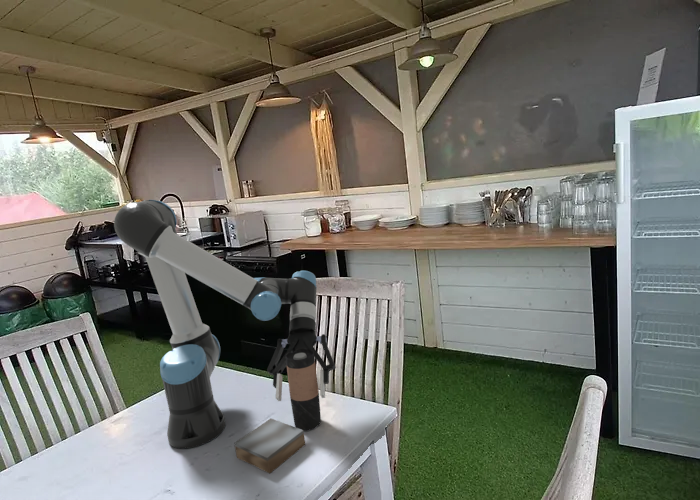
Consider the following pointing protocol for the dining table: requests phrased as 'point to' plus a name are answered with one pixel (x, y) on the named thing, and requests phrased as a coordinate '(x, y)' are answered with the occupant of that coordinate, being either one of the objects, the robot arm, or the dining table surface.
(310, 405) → the travel mug
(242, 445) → the walnut stand
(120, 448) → the dining table surface
